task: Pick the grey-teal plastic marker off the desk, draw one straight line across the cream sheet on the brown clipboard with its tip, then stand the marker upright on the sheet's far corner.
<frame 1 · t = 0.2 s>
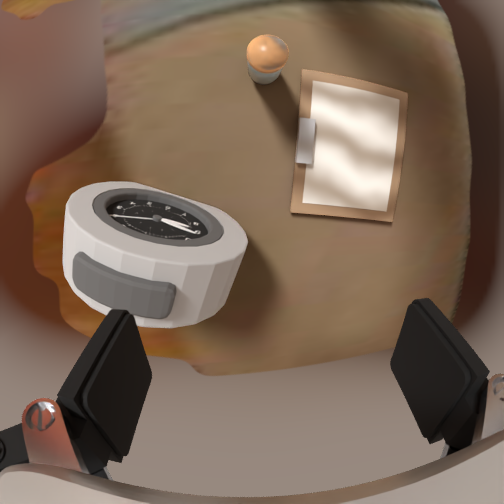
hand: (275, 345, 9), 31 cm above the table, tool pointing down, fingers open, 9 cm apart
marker: (263, 72, 32), on the table
alarm clock: (169, 218, 40), on the table
clipboard: (352, 147, 36), on the table
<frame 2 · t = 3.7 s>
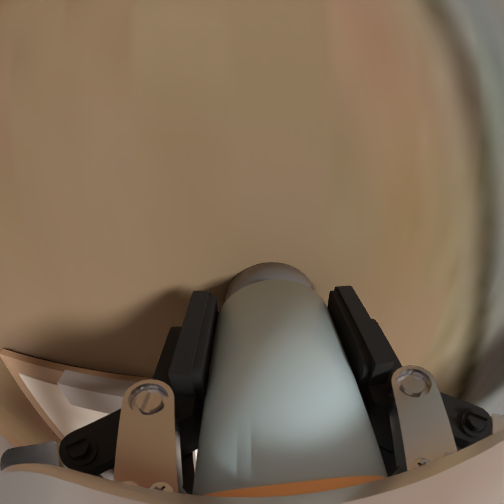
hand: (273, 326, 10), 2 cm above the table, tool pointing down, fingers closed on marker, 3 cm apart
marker: (270, 299, 12), on the table, touching gripper
clipboard: (145, 441, 17), on the table
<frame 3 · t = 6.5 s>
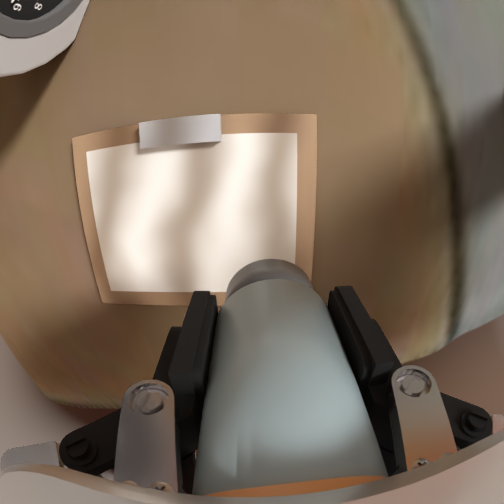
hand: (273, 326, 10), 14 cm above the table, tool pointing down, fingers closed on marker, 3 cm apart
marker: (270, 299, 12), point 12 cm above the table, touching gripper
clipboard: (189, 217, 23), on the table
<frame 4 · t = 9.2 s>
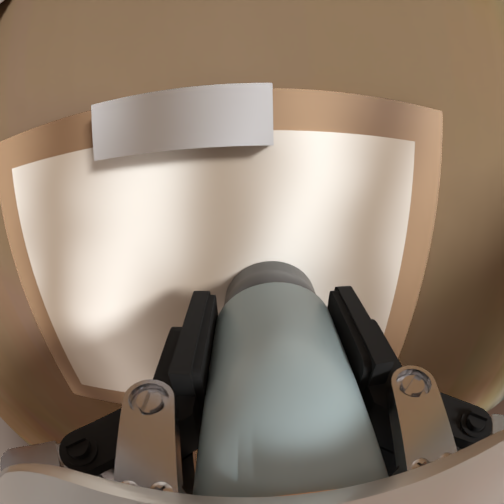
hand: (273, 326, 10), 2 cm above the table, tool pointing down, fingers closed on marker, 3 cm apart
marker: (270, 302, 11), point 1 cm above the table, touching gripper
clipboard: (199, 293, 12), on the table
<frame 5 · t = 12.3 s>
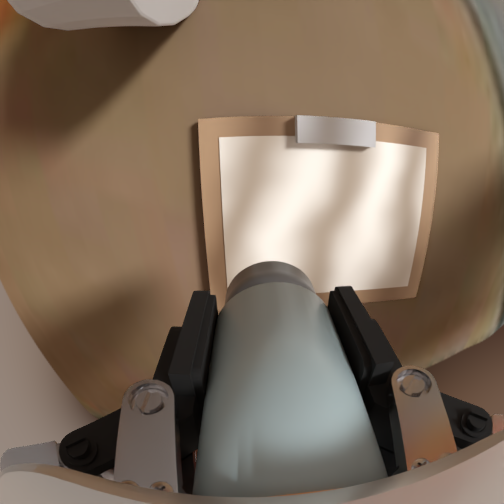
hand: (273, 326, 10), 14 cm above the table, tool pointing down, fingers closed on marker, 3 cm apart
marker: (270, 301, 11), point 12 cm above the table, touching gripper
clipboard: (329, 218, 23), on the table
when the fingers open (3 cm above the table, at t = 15.2 s): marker drops 1 cm, resting on clipboard.
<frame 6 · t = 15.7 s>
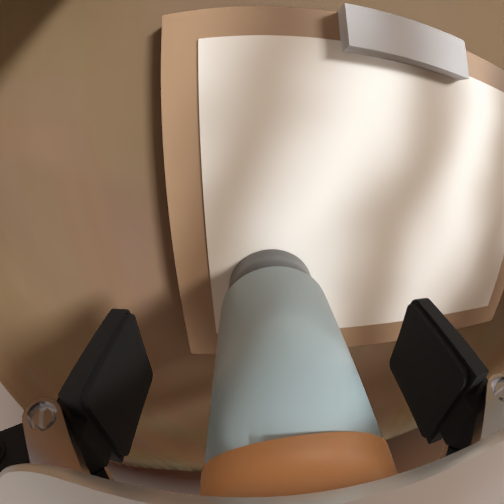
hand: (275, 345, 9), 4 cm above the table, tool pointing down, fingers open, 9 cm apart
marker: (270, 287, 12), point 1 cm above the table, touching clipboard
clipboard: (398, 195, 12), on the table
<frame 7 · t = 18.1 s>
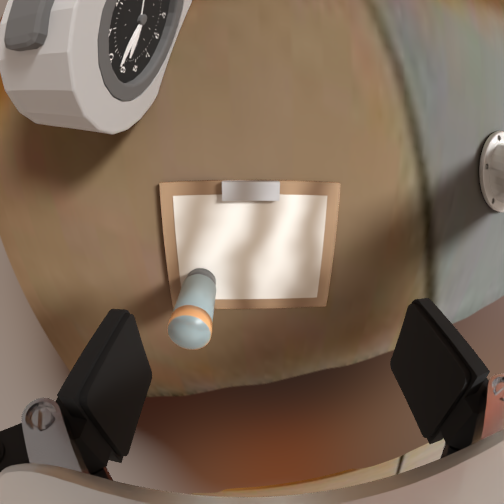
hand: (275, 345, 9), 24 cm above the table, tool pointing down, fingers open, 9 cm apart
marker: (201, 281, 34), point 1 cm above the table, touching clipboard
alarm clock: (144, 42, 24), on the table
clipboard: (250, 248, 34), on the table
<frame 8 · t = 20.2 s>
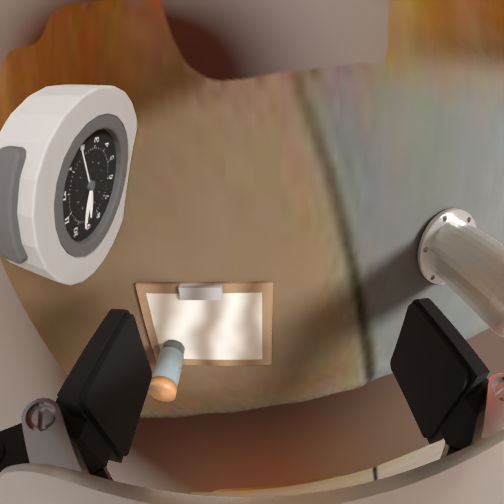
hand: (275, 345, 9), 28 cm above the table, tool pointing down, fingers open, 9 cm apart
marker: (174, 347, 44), point 1 cm above the table, touching clipboard
alarm clock: (105, 168, 34), on the table
clipboard: (207, 327, 43), on the table
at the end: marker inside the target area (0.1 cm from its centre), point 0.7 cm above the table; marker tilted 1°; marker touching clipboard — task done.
